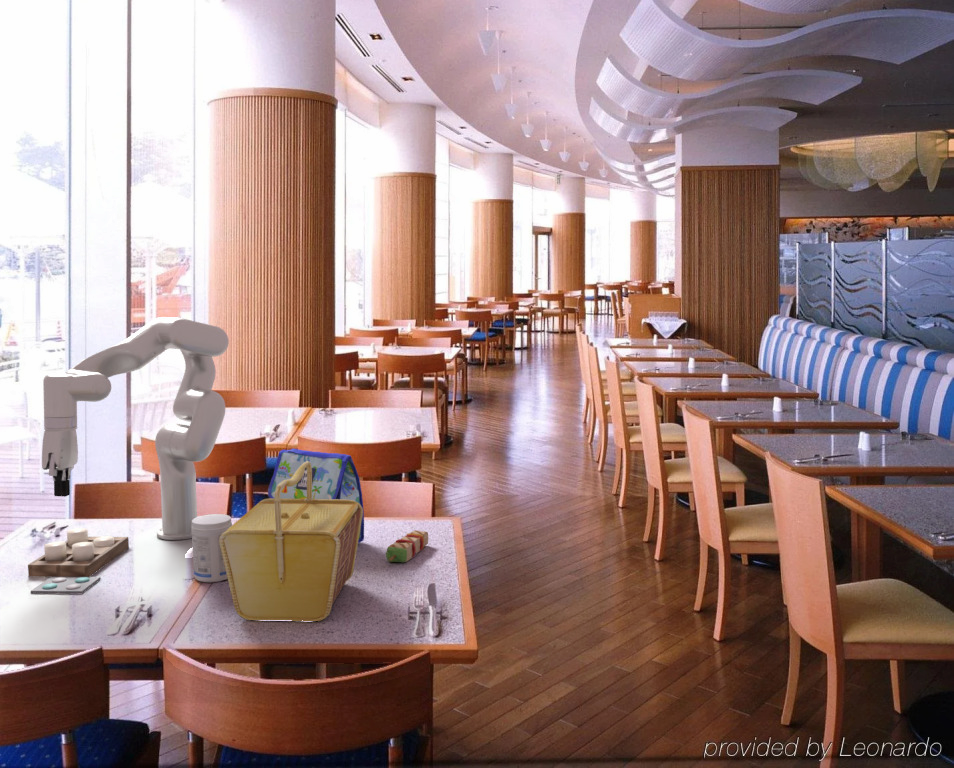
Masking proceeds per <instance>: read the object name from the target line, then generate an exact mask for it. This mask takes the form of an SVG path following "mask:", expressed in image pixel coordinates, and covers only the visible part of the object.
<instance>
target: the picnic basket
mask: <svg viewBox="0 0 954 768" xmlns="http://www.w3.org/2000/svg"><path fill="white" fill-rule="evenodd" d="M305 468H307V499H280V495H281V490H282V488H283V487H284V486H294V485H295V484H297V483H298V482H299V481H300V480H301V478H302V476H303V475H304V470H305ZM363 509H364V507H363V508H362V506H361V505H360V504H359V503H358V502H356V501H354V500H344V499H312V466H311V463H310V462H309V461H306V462H304V463H303V464H302V465H301V466H300V467H299V468H298V470H297V471H296V472H295V474H294V476H293V477H292V478H291V479H287V480H284V481H282V482H281V483H279V484H278V486H277V487H276V490H275V496H274V498H269V497H268V498H264V499H262V500H260V501H258V503H256V505H254V506H253V507H251V509H250V510H249V511H247V512H246V513H245V514H244V515H243V516H241V517H240V518H239V519H238V520H237V521H236V522H234V524H233V523H232V526H231V527H230V528H229V529H227V530H226V531H225V532H224V533H222V535H221V537H220V540H219V544H220V548H221V552H222V557H223V561H224V565H225V569H226V574H227V578H228V579H227V583H228V586H229V589H230V590H229V591H230V596H231V600H232V604H233V607H234V610H235V612H236V614H238V616H240V618H243V619H244V620H246V621H250V620H292V621H302V620H303V621H318V622H321V621H323V620H324V619H326V618H327V617H328V616H329V615H330V614H331V611H332V606H333V604H334V602H335V601H336V600H337V598H338V595H339V594H340V592H341V591H342V589H343V587H344V586H345V584H346V582H347V581H349V580H350V579H351V578H352V577H353V576H352V575H353V573H354V569H355V564H356V562H355V561H356V556H357V551H358V545H359V543H358V540H359V534H360V528H361V522H362V516H363Z"/></svg>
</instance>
